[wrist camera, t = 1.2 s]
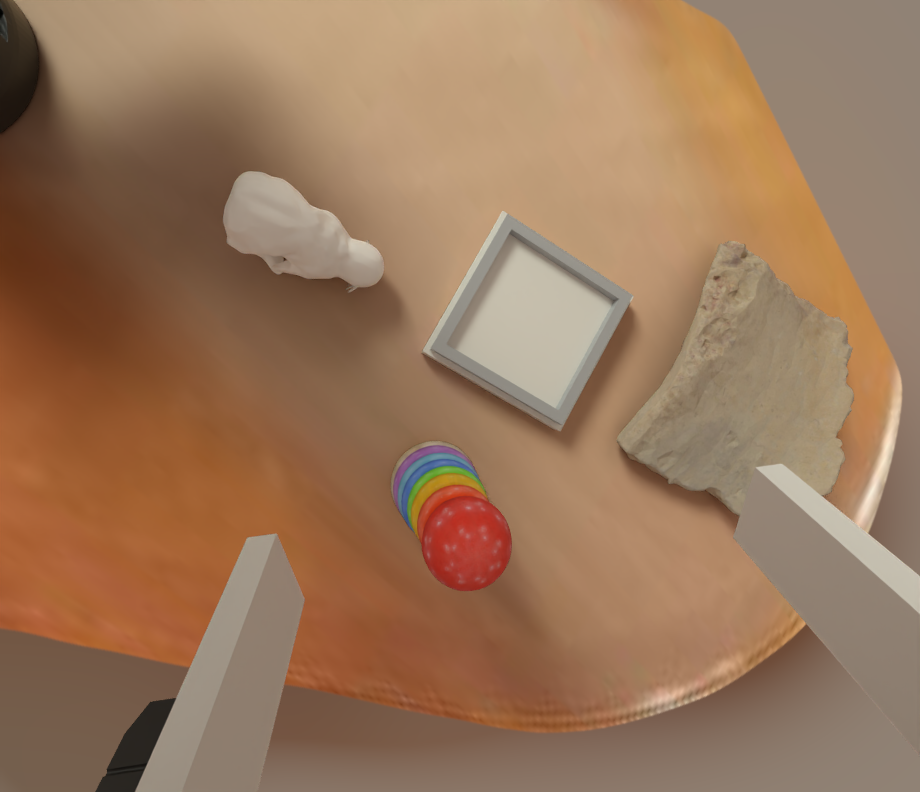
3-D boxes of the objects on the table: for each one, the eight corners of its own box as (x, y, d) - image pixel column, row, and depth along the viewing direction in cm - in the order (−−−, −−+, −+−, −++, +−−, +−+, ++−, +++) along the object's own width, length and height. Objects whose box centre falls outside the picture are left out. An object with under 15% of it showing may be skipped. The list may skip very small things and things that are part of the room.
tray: (421, 352, 40) (423, 350, 37) (498, 217, 41) (505, 205, 38) (554, 430, 42) (564, 432, 39) (625, 299, 43) (639, 293, 40)
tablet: (838, 337, 48) (713, 235, 43) (923, 334, 40) (783, 210, 36) (734, 526, 47) (596, 442, 42) (801, 558, 40) (643, 461, 35)
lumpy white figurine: (234, 141, 29) (401, 217, 32) (261, 194, 37) (392, 250, 40) (201, 227, 29) (372, 296, 31) (236, 261, 37) (369, 313, 40)
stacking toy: (427, 541, 40) (455, 671, 21) (373, 477, 39) (352, 555, 21) (491, 486, 41) (570, 566, 22) (439, 422, 40) (476, 450, 21)
